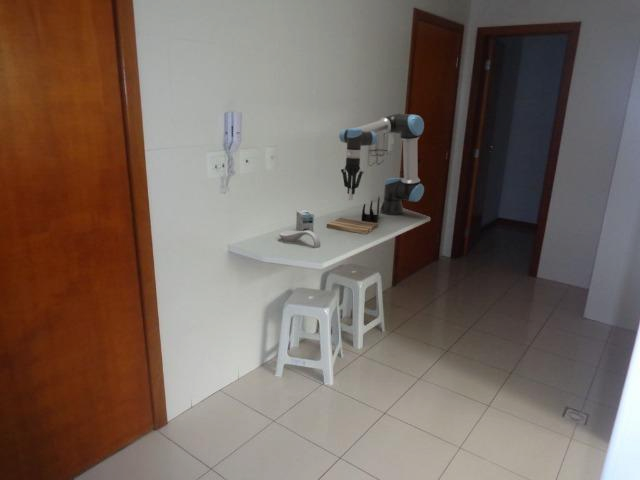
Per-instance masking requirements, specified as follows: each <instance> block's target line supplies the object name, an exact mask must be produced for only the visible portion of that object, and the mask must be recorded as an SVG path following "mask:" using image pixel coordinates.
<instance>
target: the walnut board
mask: <svg viewBox="0 0 640 480" xmlns="http://www.w3.org/2000/svg"><path fill="white" fill-rule="evenodd" d="M334 221H338V222H344V223H351V224H357V225H363V226H369V227H372V231H374V230H375V229H376V228H378V227H379V223H372V222H366V221H361V220H360V219H359V220H358V219H353V218H347V217H339V218H337V219H335V220H334Z"/></svg>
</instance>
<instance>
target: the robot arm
mask: <svg viewBox="0 0 640 480" xmlns="http://www.w3.org/2000/svg"><path fill="white" fill-rule="evenodd" d="M424 129H425V123H424V119H423V118H422V117H421V116H420V115H417V114H409V113H406V114H405V113H394V114H392V115H390V114H389V115H387V116H384V117H381V118H380V119H379V120H377V121H373V122H371V123H367V124H364V125H360V126H358V127H349V128H348V129H347V128H346V129H342V130H340V132H339V137H338V138H339V141H340V142H342V143H345V144H346V158H345V159H346V160H345V167H344V168H342V169H340V172H341V173H342V178H343V185H344V187H345V188H347V194H348V201H353V200H354V195H355V193H356V189H357V188H359V186H360V183H361V180H362V176H363V175H364V173H365V171H364V170H362V169H361V166H360V165H361V158H360V157H361V149H362V148H361V147H363V146H374V145H375V144H376V143H377V141H378V136H377V135H381V134H388V133H390V134H392V133H393V134H400V139H401V140H402V145H403V146H402V147H403V149H402V150H403V151H402V152H403V157H402V158H403V177H389V178H386V179H385V183H384V195H383V202H382V204H381V206H380V207H379V213H381V214H385V215H389V216H390V215H391V216H400V215H403V214H404V207H403V203H402V200H404V201H408V202H414V203H415V202H416V203H417V202H419V201H420V200H421V199H422V197H423V196H424V193H425V186H424V185H423V184H422V183H421V179H420V178H419V176H418V171H419V170H418V160H419V159H418V157H419V156H418V141H419V139H420V137H421V135H422V134H423V132H424ZM357 174H358V175H357Z"/></svg>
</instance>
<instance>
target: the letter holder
mask: <svg viewBox="0 0 640 480" xmlns="http://www.w3.org/2000/svg"><path fill="white" fill-rule="evenodd" d="M376 204H377V205H376V214H374V211H373V200H371V201H370V206H369V213H366V212H365V211H366V210H365V209H366V204H365V203H364V204H363V206H362V210H361V219H360V221H366V222H372V223H378V221H379V216H380V196H378V198H377V203H376ZM378 224H379V223H378Z"/></svg>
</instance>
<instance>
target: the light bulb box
mask: <svg viewBox="0 0 640 480" xmlns="http://www.w3.org/2000/svg"><path fill="white" fill-rule="evenodd" d="M314 219H315V215H314V213H313V212H310V210H308V209H307V210H305V209H304V210H303V209H299V210H298V209H297V210H296V221H295V224H296V225H295V228H296V231H306V230H309V231H312V232H314V225H315V224H314V223H315V220H314Z"/></svg>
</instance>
